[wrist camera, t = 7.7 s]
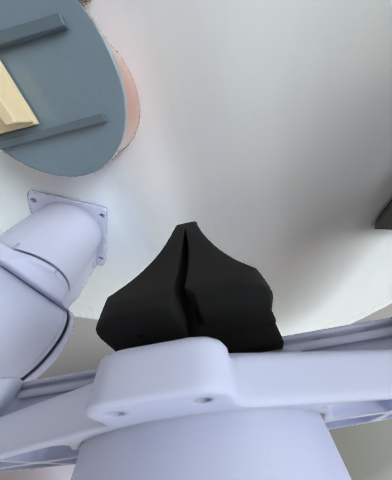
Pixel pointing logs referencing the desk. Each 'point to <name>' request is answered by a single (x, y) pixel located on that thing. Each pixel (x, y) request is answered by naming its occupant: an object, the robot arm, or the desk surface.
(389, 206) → the computer monitor
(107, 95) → the tumbler
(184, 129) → the desk surface
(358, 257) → the desk surface
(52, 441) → the robot arm
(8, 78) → the lid slider
